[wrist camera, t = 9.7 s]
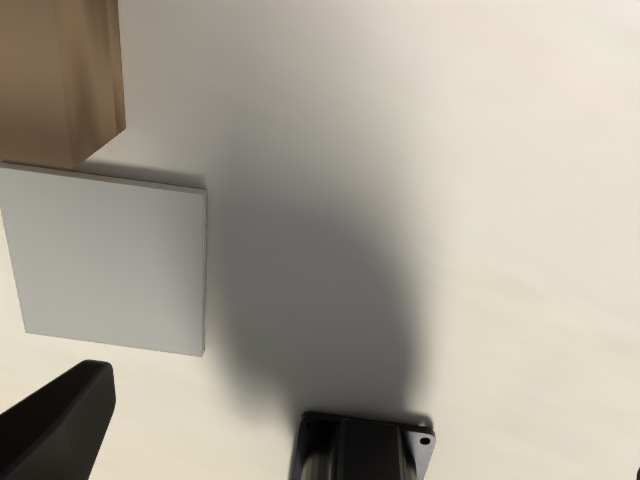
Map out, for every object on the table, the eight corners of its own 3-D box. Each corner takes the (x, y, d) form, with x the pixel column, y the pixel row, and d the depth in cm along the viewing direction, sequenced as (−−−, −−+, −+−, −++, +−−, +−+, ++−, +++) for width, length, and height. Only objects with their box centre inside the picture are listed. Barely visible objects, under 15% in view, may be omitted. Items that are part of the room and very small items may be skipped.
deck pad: (205, 349, 24) (202, 357, 24) (31, 326, 24) (25, 332, 24) (206, 189, 20) (203, 195, 20) (0, 161, 20) (-8, 166, 20)
